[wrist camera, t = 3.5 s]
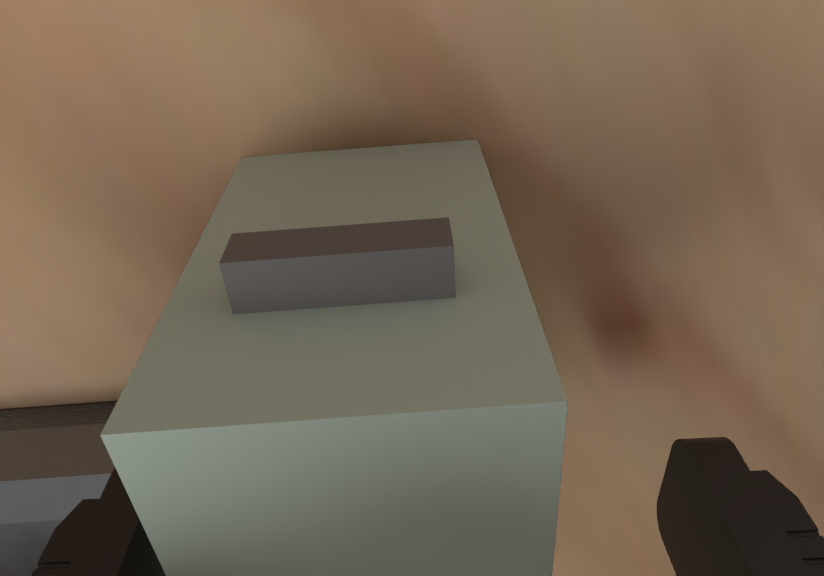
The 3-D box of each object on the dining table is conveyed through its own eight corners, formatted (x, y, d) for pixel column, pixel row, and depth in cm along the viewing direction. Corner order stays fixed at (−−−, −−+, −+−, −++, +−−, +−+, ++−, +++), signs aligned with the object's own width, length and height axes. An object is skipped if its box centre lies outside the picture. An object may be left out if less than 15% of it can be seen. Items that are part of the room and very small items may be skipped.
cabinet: (477, 101, 13) (572, 341, 6) (480, 414, 18) (536, 739, 11) (233, 119, 13) (74, 378, 6) (302, 427, 18) (251, 759, 11)
